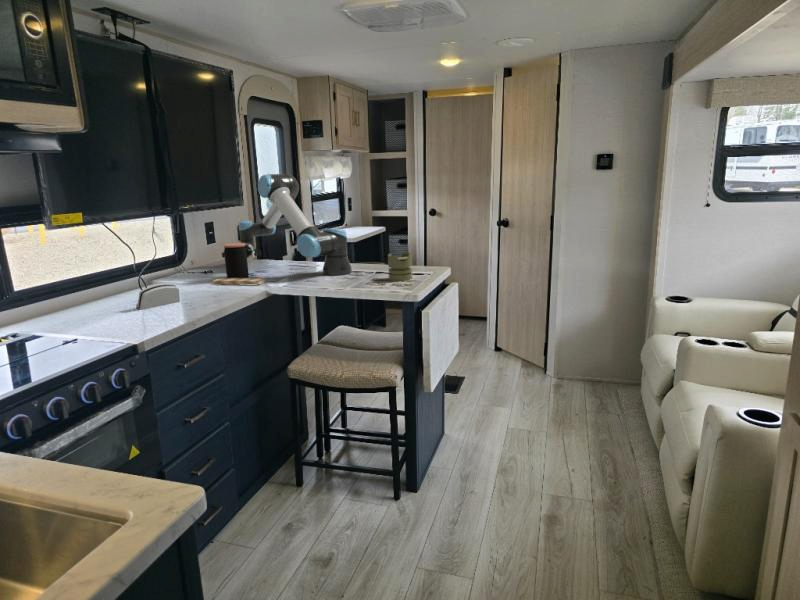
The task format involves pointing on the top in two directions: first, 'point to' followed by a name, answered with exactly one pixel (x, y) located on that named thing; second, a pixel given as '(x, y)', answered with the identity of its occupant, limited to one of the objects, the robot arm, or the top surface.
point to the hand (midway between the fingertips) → (239, 256)
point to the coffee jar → (236, 260)
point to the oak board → (238, 281)
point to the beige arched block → (158, 296)
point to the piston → (400, 267)
